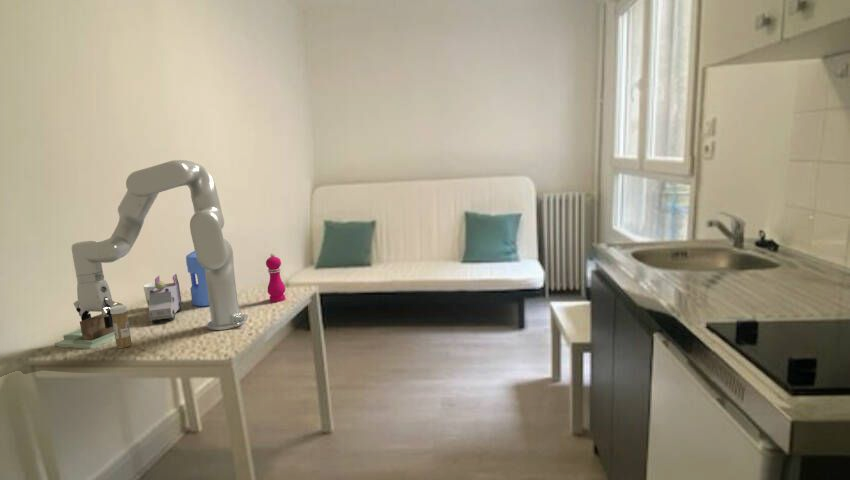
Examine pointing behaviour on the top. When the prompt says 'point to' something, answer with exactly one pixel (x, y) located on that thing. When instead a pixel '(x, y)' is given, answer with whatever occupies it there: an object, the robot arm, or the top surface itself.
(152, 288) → the white cup
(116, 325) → the sprinkles bottle
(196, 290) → the water jug
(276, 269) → the pepper mill
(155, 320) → the toy vehicle
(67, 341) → the jig
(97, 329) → the brown cuboid brick
